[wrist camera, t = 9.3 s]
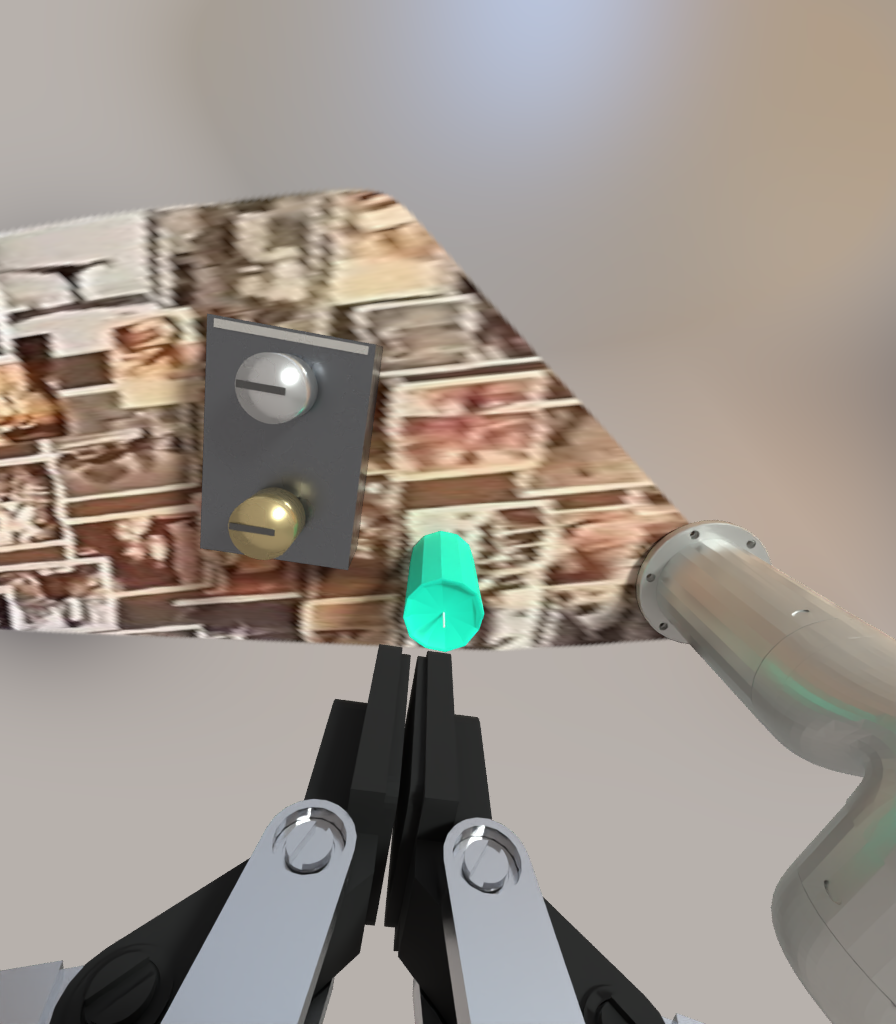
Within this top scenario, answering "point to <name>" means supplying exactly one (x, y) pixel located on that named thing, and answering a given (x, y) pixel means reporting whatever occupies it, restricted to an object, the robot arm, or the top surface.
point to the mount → (290, 439)
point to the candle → (442, 593)
